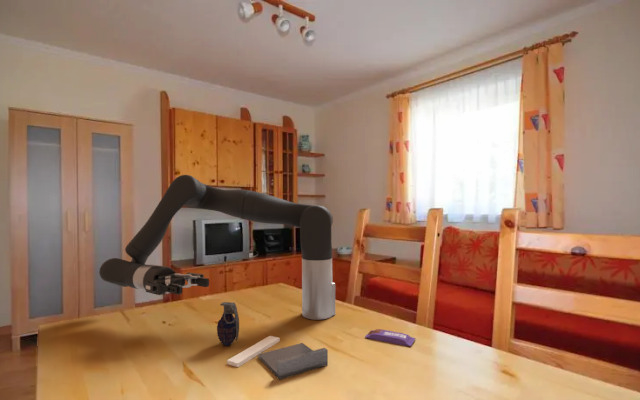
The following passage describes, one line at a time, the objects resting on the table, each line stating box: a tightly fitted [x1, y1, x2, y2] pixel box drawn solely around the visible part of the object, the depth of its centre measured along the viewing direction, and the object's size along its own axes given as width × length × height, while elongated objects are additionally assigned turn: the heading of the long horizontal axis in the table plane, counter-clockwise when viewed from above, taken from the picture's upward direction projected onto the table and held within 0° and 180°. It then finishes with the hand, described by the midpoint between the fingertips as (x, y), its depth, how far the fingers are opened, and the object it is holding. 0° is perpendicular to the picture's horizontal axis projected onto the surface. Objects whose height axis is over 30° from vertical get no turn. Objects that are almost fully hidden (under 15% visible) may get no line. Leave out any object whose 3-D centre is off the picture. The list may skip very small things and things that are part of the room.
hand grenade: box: [216, 301, 240, 347], centre depth 80 cm, size 6×5×10 cm
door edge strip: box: [226, 335, 281, 368], centre depth 77 cm, size 15×3×1 cm, turn 152°
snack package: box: [364, 328, 417, 347], centre depth 83 cm, size 12×2×5 cm
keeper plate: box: [257, 342, 329, 381], centre depth 72 cm, size 11×11×3 cm
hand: (195, 286), depth 86 cm, fingers open, 8 cm apart
